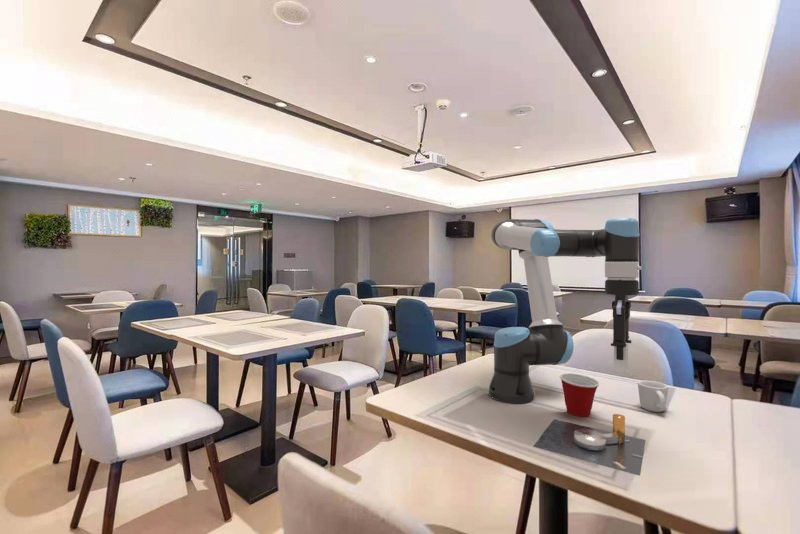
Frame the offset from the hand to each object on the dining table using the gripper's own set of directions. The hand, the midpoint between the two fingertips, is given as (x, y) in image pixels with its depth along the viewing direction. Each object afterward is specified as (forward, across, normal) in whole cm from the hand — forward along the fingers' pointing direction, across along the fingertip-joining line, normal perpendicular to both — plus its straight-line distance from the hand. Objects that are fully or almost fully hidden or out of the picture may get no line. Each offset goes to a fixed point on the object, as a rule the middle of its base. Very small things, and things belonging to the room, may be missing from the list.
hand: (621, 369), depth 98 cm
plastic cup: (+19, +10, +12) cm, 24 cm away
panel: (+19, -9, +6) cm, 21 cm away
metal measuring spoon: (+17, -8, +4) cm, 19 cm away
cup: (+19, +30, -6) cm, 36 cm away
